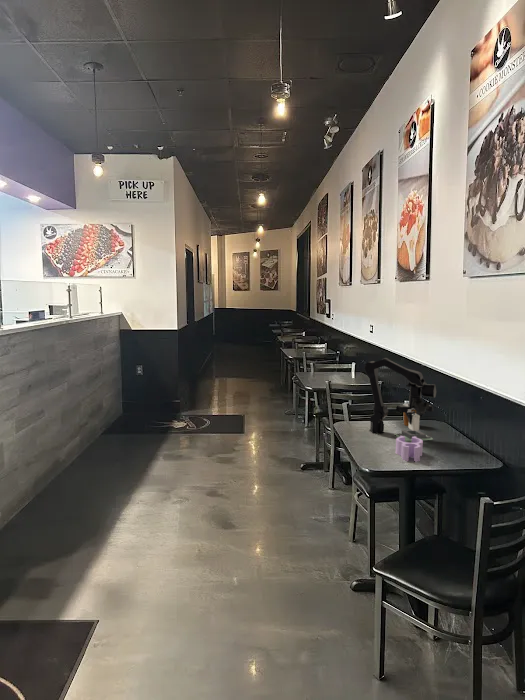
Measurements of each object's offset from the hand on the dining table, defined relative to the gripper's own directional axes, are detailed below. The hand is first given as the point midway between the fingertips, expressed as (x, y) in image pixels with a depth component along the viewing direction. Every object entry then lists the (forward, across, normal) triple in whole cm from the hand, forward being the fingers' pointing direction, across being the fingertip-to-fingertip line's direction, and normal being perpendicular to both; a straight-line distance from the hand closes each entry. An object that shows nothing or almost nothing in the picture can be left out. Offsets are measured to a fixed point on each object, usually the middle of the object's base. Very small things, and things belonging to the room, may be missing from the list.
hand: (413, 424), depth 288 cm
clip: (+8, -17, -29) cm, 34 cm away
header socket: (+7, 0, 0) cm, 7 cm away
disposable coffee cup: (+8, +11, +26) cm, 29 cm away
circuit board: (+7, 0, 0) cm, 7 cm away
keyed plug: (+3, 0, 0) cm, 3 cm away
